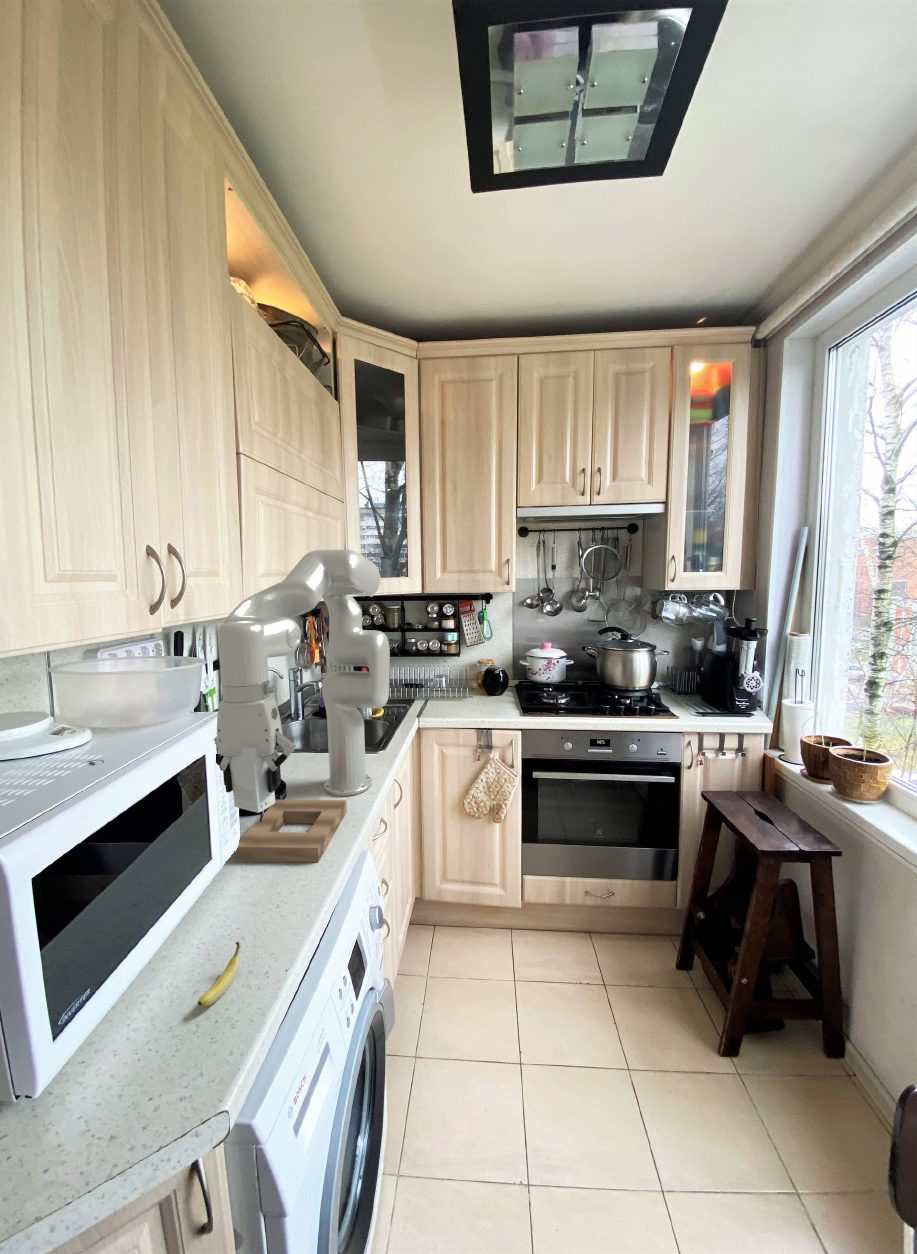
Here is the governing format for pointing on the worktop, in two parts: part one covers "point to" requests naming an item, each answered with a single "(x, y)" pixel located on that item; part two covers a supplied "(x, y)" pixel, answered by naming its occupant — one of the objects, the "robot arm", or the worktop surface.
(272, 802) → the skincare box
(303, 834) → the socket block
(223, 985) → the banana
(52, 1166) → the worktop surface
